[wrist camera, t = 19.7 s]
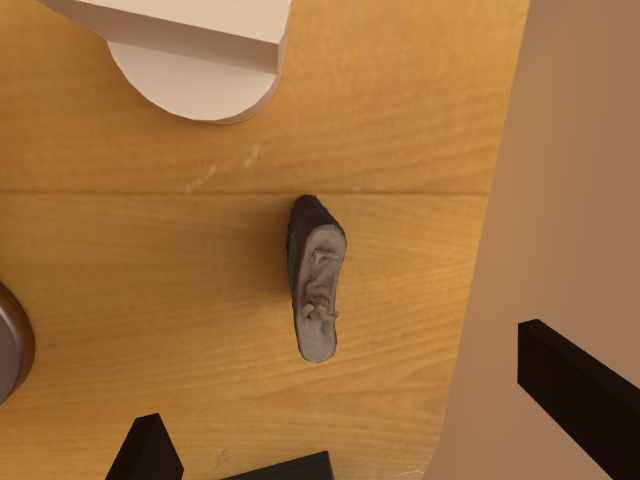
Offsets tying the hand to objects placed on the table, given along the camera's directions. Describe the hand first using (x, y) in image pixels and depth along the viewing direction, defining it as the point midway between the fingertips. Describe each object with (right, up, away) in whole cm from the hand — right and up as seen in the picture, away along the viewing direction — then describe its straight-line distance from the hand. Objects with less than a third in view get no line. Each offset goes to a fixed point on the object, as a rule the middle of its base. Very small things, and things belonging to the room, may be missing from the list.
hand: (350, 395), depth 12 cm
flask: (-2, +5, +15) cm, 16 cm away
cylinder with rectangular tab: (-8, +18, +10) cm, 23 cm away
